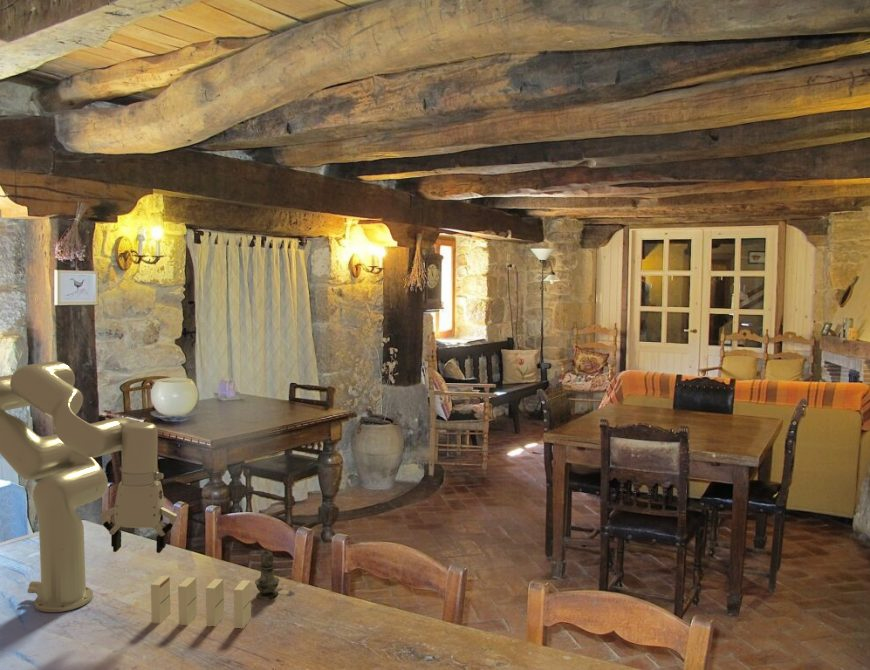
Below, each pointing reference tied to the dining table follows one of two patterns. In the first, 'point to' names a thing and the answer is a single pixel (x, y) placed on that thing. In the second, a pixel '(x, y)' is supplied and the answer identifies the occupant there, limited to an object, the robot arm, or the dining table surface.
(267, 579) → the dark chess piece
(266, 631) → the dining table surface
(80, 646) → the dining table surface
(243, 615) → the domino
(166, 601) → the domino
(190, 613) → the domino
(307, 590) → the dining table surface
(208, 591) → the domino
